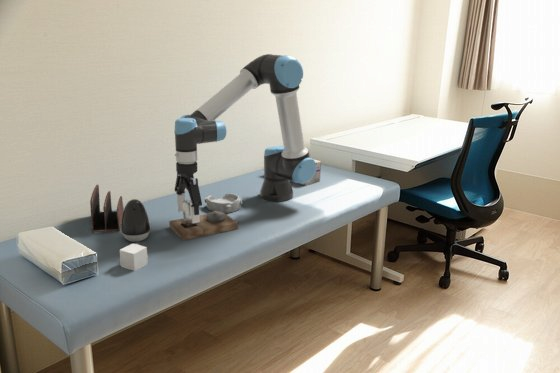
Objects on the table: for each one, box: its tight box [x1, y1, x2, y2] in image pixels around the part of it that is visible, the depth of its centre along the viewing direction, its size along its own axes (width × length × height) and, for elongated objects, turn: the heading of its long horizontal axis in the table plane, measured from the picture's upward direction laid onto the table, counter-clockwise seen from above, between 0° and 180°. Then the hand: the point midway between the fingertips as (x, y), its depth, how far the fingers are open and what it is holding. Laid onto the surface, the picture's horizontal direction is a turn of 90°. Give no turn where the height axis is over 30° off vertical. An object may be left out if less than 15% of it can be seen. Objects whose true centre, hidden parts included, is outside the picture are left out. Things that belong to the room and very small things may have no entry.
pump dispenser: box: [120, 198, 152, 243], centre depth 186 cm, size 10×10×15 cm
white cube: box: [119, 242, 149, 272], centre depth 168 cm, size 6×6×6 cm
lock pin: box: [182, 199, 194, 228], centre depth 194 cm, size 4×4×12 cm
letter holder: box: [89, 184, 125, 234], centre depth 201 cm, size 10×20×14 cm, turn 11°
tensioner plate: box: [168, 211, 239, 241], centre depth 198 cm, size 22×14×6 cm, turn 122°
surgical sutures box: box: [290, 158, 322, 187], centre depth 264 cm, size 25×11×11 cm, turn 47°
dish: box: [203, 192, 243, 214], centre depth 221 cm, size 14×14×5 cm
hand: (188, 216), depth 194 cm, fingers open, 13 cm apart
